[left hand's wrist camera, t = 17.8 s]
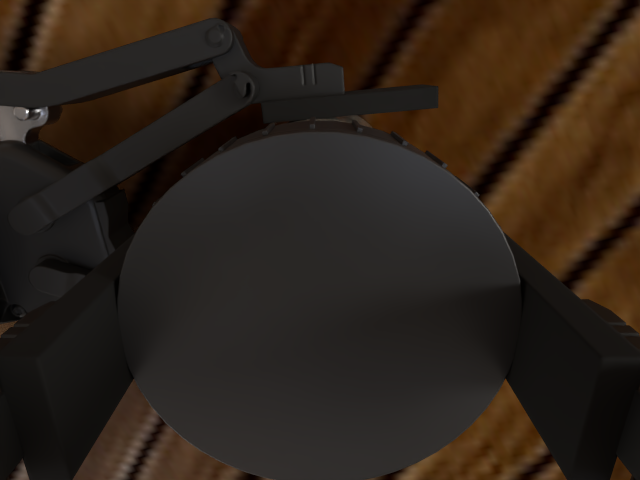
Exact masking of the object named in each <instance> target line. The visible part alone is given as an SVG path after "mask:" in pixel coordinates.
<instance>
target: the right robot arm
mask: <svg viewBox="0 0 640 480" xmlns="http://www.w3.org/2000/svg"><path fill="white" fill-rule="evenodd" d="M212 63H214V65H215V67H216V69H217V71H218V73H219V75H220V77H221V79H222V80H220V81H219V82H217V83H216V84H214V85H212V86H211V87H209V88H208V89H206V90H204V91H203V92H201V93H199V94H198V95H196V96H195V97H193V98H191V99H190V100H188V101H187V102H185V103H183V104H182V105H180V106H179V107H177V108H175V109H174V110H172V111H171V112H169V113H167V114H166V115H164V116H163V117H161V118H159V119H158V120H156V121H155V122H153V123H151V124H150V125H148V126H147V127H145V128H143V129H142V130H140V131H139V132H137V133H135V134H134V135H132V136H131V137H129V138H127V139H126V140H124V141H123V142H121V143H119V144H118V145H116V146H114V147H113V148H111V149H110V150H108V151H106V152H105V153H103V154H102V155H100V156H98V157H96V158H94V159H92V160H90V161H89V162H87V163H85V164H84V163H82V162H81V161H79V160H77V159H75V158H73V157H71V156H69V155H67V154H66V153H64V152H62V151H60V150H58V149H56V148H54V147H53V146H51V145H49V144H47V143H45V142H43V141H41V140H39V139H38V134H39V131H40V130H41V128H42V127H44V126H45V125H49V124H54V123H55V122H57V121H58V120H59V118H60V115H61V113H62V109H63V108H62V106H61V105H66V104H74V103H82V102H86V101H90V100H94V99H97V98H100V97H104V96H107V95H110V94H114V93H117V92H120V91H123V90H127V89H130V88H133V87H136V86H140V85H143V84H146V83H149V82H153V81H156V80H159V79H163V78H166V77H169V76H172V75H176V74H179V73H182V72H185V71H189V70H192V69H195V68H198V67H202V66H205V65H208V64H212ZM255 103H261V107H262V115H263V123H275V122H287V121H298V120H308V119H311V117H315V119H320V118H331V117H342V116H353V115H364V114H375V113H386V112H397V111H408V110H419V109H430V108H438V86H430V85H412V86H401V87H390V88H380V89H369V90H358V91H347V92H344V76H343V67H341V66H338V65H335V64H332V63H320V64H310V65H299V66H289V67H278V68H262V67H260V66H259V65H257V64H256V63H255V62H254V61H253V59H252V58H251V56H250V54H249V52H248V50H247V48H246V46H245V44H244V42H243V37H242V35H241V33H240V31H239V30H238V29H237V28H236V27H234V26H232V25H230V24H228V23H227V22H225V21H223V20H220V19H217V18H210V19H206V20H203V21H200V22H197V23H194V24H191V25H188V26H184V27H181V28H178V29H175V30H172V31H169V32H165V33H162V34H159V35H156V36H153V37H150V38H146V39H143V40H140V41H137V42H134V43H131V44H127V45H124V46H121V47H118V48H115V49H112V50H109V51H105V52H102V53H99V54H96V55H93V56H90V57H86V58H83V59H80V60H77V61H74V62H71V63H67V64H64V65H61V66H58V67H55V68H52V69H48V70H45V71H42V72H34V71H0V324H4V323H9V322H13V321H18V320H20V319H21V318H23V317H24V316H25V315H26V314H27V313H29V312H30V311H32V310H34V309H36V308H38V307H40V306H42V305H44V304H46V303H48V302H50V301H57V300H59V299H60V298H61V297H62V296H63V295H64V294H65V293H67V292H68V291H69V290H70V289H71V288H72V287H73V286H75V285H76V284H77V283H78V282H79V281H80V280H82V279H83V278H84V277H85V276H86V275H87V274H88V273H90V272H91V271H92V270H93V269H94V268H95V267H96V266H98V265H99V264H100V263H101V262H102V261H103V260H105V259H106V258H107V257H108V256H109V255H110V254H111V253H113V252H114V251H115V250H116V249H117V248H118V247H119V246H121V245H122V244H123V243H124V242H125V241H126V240H128V239H129V238H130V237H131V236H132V235H133V234H134V232H133V231H132V229H131V227H130V225H129V223H128V202H127V198H126V194H125V190H124V189H122V190H119V189H118V187H117V186H116V185H118V184H120V183H121V182H123V181H125V180H126V179H128V178H130V177H131V176H133V175H135V174H136V173H138V172H140V171H141V170H143V169H144V168H146V167H148V166H149V165H151V164H152V163H154V162H156V161H157V160H159V159H161V158H162V157H164V156H166V155H167V154H169V153H171V152H172V151H174V150H176V149H177V148H179V147H181V146H182V145H184V144H186V143H187V142H189V141H191V140H192V139H194V138H196V137H197V136H199V135H201V134H202V133H204V132H206V131H207V130H209V129H210V128H212V127H214V126H215V125H217V124H219V123H220V122H222V121H224V120H225V119H227V118H229V117H230V116H232V115H234V114H235V113H237V112H239V111H240V110H242V109H244V108H245V107H247V106H249V105H250V104H255Z"/></svg>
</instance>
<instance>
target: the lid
mask: <svg viewBox="0 0 640 480" xmlns="http://www.w3.org/2000/svg"><path fill="white" fill-rule="evenodd" d="M447 166H448V165H447V164H445V163H444V162H442V161H441V160H440V159H438V158H437V157H436V156H434V155H433V154H431V153H430V152H429V151H426V152H425V153H424V152H422V151H421V150H419V149H417V148H416V147H414V146H413V145H411V144H409V143H408V142H407V141H405V140H404V139H403V138H402V137H400V136H399V135H398V134H397V133H395V132H393V131H392V132H391V134H388V133H386V132H384V131H381V130H377V129H374V128H370V127H367V126H363V125H360V124H359V123H358V122H357V121H356V120H352V123H347V122H340V121H316V119H315V117H311V119H310V120H308V121H300V122H293V123H285V124H280V125H276V126H275V124H274V123H270V124H269V125H268V126H267V127H266V128H265V129H262V130H258V131H256V132H254V133H251V134H249V135H246V136H244V137H242V138H239V139H237V137H236V136H235V137H233V138H232V139H230V140H229V141H228V142H226V143H225V144H224V145H222V146H221V147H220V148H218V151H217V152H215V153H214V154H212V155H211V156H210V157H209V158H207V159H206V160H204V159H203V158H201V159H200V160H199V161H197V162H196V163H195V164H193V165H192V166H190V167H189V168H188V169H186V170H185V171H184V172H182V173H181V175H182V176H183V178H182V179H180V180H179V181H178V182H177V183H175V184H174V185H173V186H172V187H171V188H170V189H169V190H168V191H167V192H166V193H165V194H164V195H163V196H161V197H160V198H159V199H158V200H156V201H155V202H154V203H153V205H152V206H153V207H152V208H151V210H150V211H149V213H148V214H147V216H146V217H145V219H144V220H143V222H142V223H141V225H140V226H139V228H138V229H137V231H136V233H135V236H134V238H133V240H132V242H131V244H130V246H129V249H128V251H127V253H126V256H125V260H124V263H123V267H122V270H121V274H120V278H119V286H118V294H117V314H118V321H119V326H120V331H121V337H122V342H123V347H124V353H125V357H126V361H127V364H128V367H129V369H130V371H131V373H132V375H133V377H134V379H135V381H136V383H137V385H138V387H139V389H140V391H141V392H142V393H143V395H144V396H145V398H146V399H147V401H148V402H149V404H150V405H151V407H152V408H153V409H154V410H155V411H156V412H157V413H158V415H159V416H160V417H161V418H162V419H163V420H164V421H165V423H166V424H168V425H169V426H170V427H171V428H172V429H173V430H174V431H175V432H176V433H178V434H179V435H180V436H181V437H182V438H183V439H185V440H186V441H188V442H189V443H190V444H192V445H193V446H195V447H196V448H197V449H199V450H200V451H202V452H204V453H206V454H207V455H209V456H211V457H213V458H215V459H216V460H218V461H220V462H222V463H225V464H227V465H229V466H232V467H234V468H236V469H239V470H241V471H244V472H248V473H251V474H254V475H257V476H261V477H265V478H269V479H274V480H365V479H370V478H375V477H378V476H382V475H385V474H388V473H392V472H395V471H398V470H400V469H403V468H405V467H408V466H410V465H412V464H415V463H417V462H419V461H421V460H423V459H425V458H426V457H428V456H430V455H432V454H434V453H436V452H437V451H439V450H440V449H442V448H443V447H445V446H446V445H447V444H449V443H450V442H452V441H453V440H455V439H456V438H457V437H458V436H459V435H460V434H462V433H463V432H464V431H465V430H466V429H467V428H468V427H470V426H471V425H472V424H473V423H474V422H475V420H476V419H477V418H478V417H479V416H480V415H481V414H482V413H483V412H484V410H485V409H486V408H487V407H488V405H489V404H490V403H491V401H492V400H493V398H494V397H495V395H496V394H497V392H498V391H499V390H500V388H501V386H502V384H503V382H504V380H505V378H506V376H507V374H508V372H509V370H510V367H511V365H512V362H513V359H514V355H515V350H516V345H517V339H518V334H519V329H520V323H521V317H522V294H521V285H520V277H519V274H518V270H517V266H516V263H515V259H514V255H513V253H512V251H511V249H510V246H509V244H508V242H507V240H506V237H505V235H504V233H503V231H502V229H501V227H500V226H499V225H498V223H497V222H496V220H495V219H494V217H493V216H492V214H491V213H490V211H489V210H488V208H487V207H486V206H485V205H484V204H483V203H482V202H481V201H480V199H479V198H478V196H479V194H478V193H477V192H476V191H475V190H473V189H472V188H471V187H469V186H468V185H467V184H465V183H464V182H463V181H462V180H460V179H459V178H458V177H456V176H454V175H453V174H452V173H450V172H449V171H448V170H446V169H445V168H446V167H447Z"/></svg>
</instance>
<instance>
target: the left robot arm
mask: <svg viewBox="0 0 640 480" xmlns="http://www.w3.org/2000/svg"><path fill="white" fill-rule="evenodd" d="M503 233H504V232H503ZM504 235H505V237H506V240H507V242H508V244H509V246H510V249H511V251H512V253H513V255H514V259H515V263H516V266H517V270H518V274H519V277H520V285H521V294H522V317H521V323H520V329H519V334H518V339H517V345H516V350H515V355H514V359H513V362H512V365H511V367H510V370H509V372H508V374H507V376H506V380H507V381H508V383H509V385H510V386H511V388H512V390H513V391H514V393H515V394H516V396H517V398H518V399H519V401H520V403H521V404H522V406H523V408H524V409H525V411H526V413H527V414H528V416H529V418H530V419H531V421H532V422H533V424H534V426H535V427H536V429H537V431H538V432H539V434H540V436H541V437H542V439H543V441H544V442H545V444H546V446H547V447H548V449H549V450H550V452H551V454H552V455H553V457H554V459H555V460H556V462H557V464H558V465H559V467H560V469H561V470H562V472H563V474H564V475H565V477H566V479H567V480H610V477H611V474H612V471H613V468H614V465H615V462H616V458H617V456H618V457H619V459H620V460H621V461H622V463H623V464H624V465H625V466H626V468H627V469H628V470H629V472H630V473H631V474H632V476H631V479H630V480H640V336H639V333H638V332H636V331H635V330H634V329H633V328H632V327H630V326H626V323H625V322H624V321H623V320H622V319H621V318H619V317H618V316H617V315H616V314H614V313H613V312H612V311H611V310H609V309H607V308H605V307H603V306H601V305H599V304H597V303H595V302H593V301H591V300H589V299H580V298H579V297H578V296H576V295H575V294H574V293H573V292H572V291H571V290H569V289H568V288H567V287H566V286H565V285H564V284H563V283H561V282H560V281H559V280H558V279H557V278H556V277H555V276H553V275H552V274H551V273H550V272H549V271H548V270H546V269H545V268H544V267H543V266H542V265H541V264H540V263H538V262H537V261H536V260H535V259H534V258H533V257H532V256H530V255H529V254H528V253H527V252H526V251H525V250H523V249H522V248H521V247H520V246H519V245H518V244H517V243H515V242H514V241H513V240H512V239H511V238H510V237H509V236H507V235H506V234H505V233H504ZM134 236H135V233H134V234H133V235H132V236H131V237H130V238H129V239H128V240H126V241H125V242H124V243H123V244H122V245H121V246H119V247H118V248H117V249H116V250H115V251H114V252H113V253H111V254H110V255H109V256H108V257H107V258H106V259H105V260H103V261H102V262H101V263H100V264H99V265H98V266H96V267H95V268H94V269H93V270H92V271H91V272H90V273H88V274H87V275H86V276H85V277H84V278H83V279H82V280H80V281H79V282H78V283H77V284H76V285H75V286H73V287H72V288H71V289H70V290H69V291H68V292H67V293H65V294H64V295H63V296H62V297H61V298H60V299H59V300H57V301H50V302H48V303H46V304H44V305H42V306H40V307H38V308H36V309H34V310H32V311H30V312H29V313H27V314H26V315H25V316H24V317H23V318H21V319H20V320H19V321H18V322H16V323H15V324H14V327H10V328H9V329H8V330H7V331H6V332H4V333H3V334H2V335H1V338H0V480H10V479H9V475H10V473H11V472H12V471H13V470H14V468H15V467H16V466H17V464H18V463H19V462H20V461H21V459H22V458H23V460H24V464H25V467H26V470H27V473H28V476H29V479H30V480H72V479H73V478H74V476H75V474H76V473H77V471H78V469H79V468H80V466H81V465H82V463H83V461H84V460H85V458H86V456H87V455H88V453H89V451H90V450H91V448H92V446H93V445H94V443H95V441H96V440H97V438H98V437H99V435H100V433H101V432H102V430H103V428H104V427H105V425H106V423H107V422H108V420H109V418H110V417H111V415H112V413H113V412H114V410H115V409H116V407H117V405H118V404H119V402H120V400H121V399H122V397H123V395H124V394H125V392H126V390H127V389H128V387H129V385H130V384H131V382H132V381H133V379H134V377H133V375H132V373H131V371H130V369H129V367H128V364H127V361H126V357H125V353H124V347H123V342H122V337H121V331H120V326H119V321H118V314H117V294H118V286H119V278H120V274H121V270H122V267H123V263H124V260H125V256H126V253H127V251H128V249H129V246H130V244H131V242H132V240H133V238H134Z"/></svg>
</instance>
